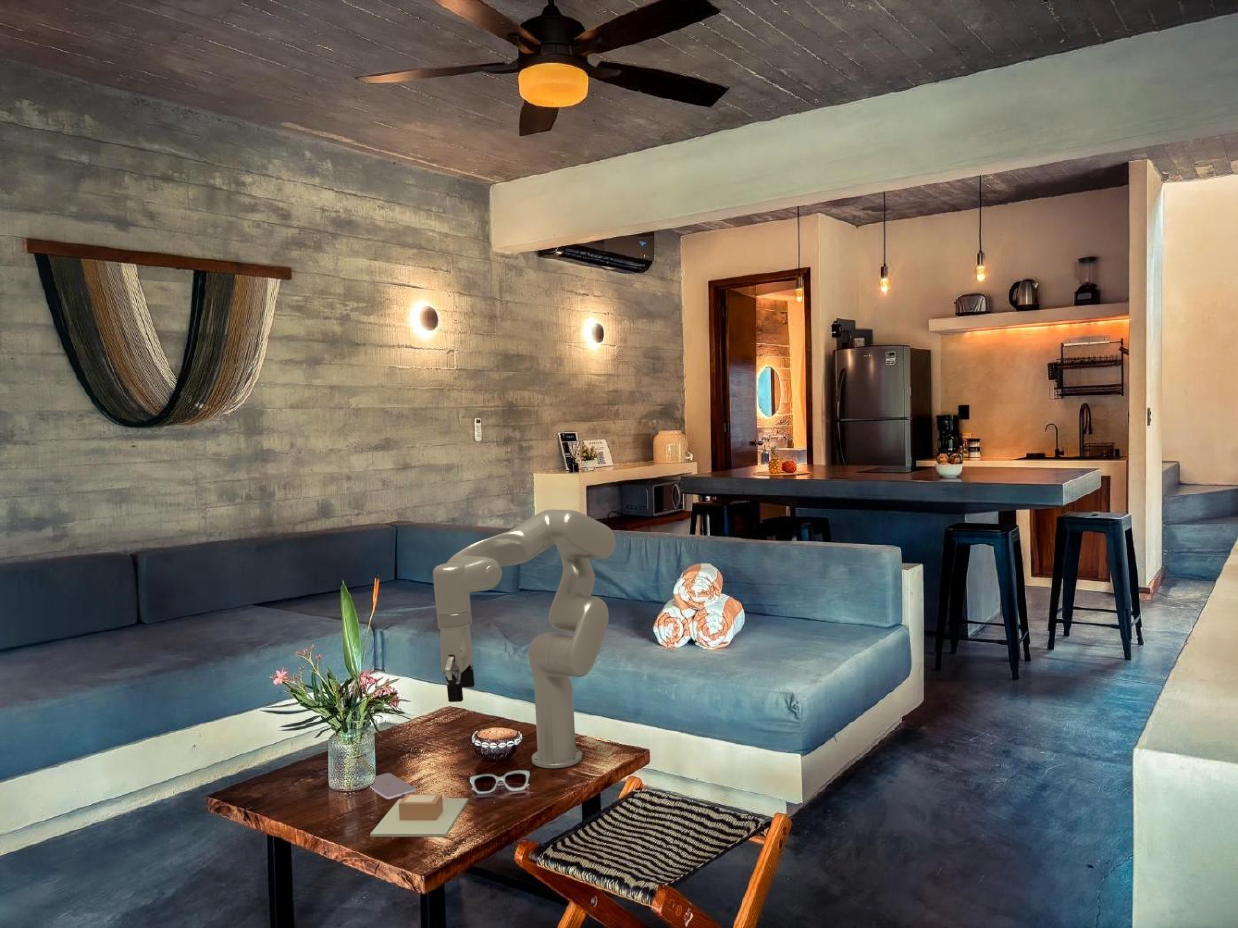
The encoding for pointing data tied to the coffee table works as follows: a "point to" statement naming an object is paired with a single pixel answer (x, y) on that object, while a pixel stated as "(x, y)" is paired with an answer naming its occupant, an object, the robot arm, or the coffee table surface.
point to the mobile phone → (391, 786)
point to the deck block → (421, 807)
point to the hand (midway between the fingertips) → (461, 693)
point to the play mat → (420, 822)
